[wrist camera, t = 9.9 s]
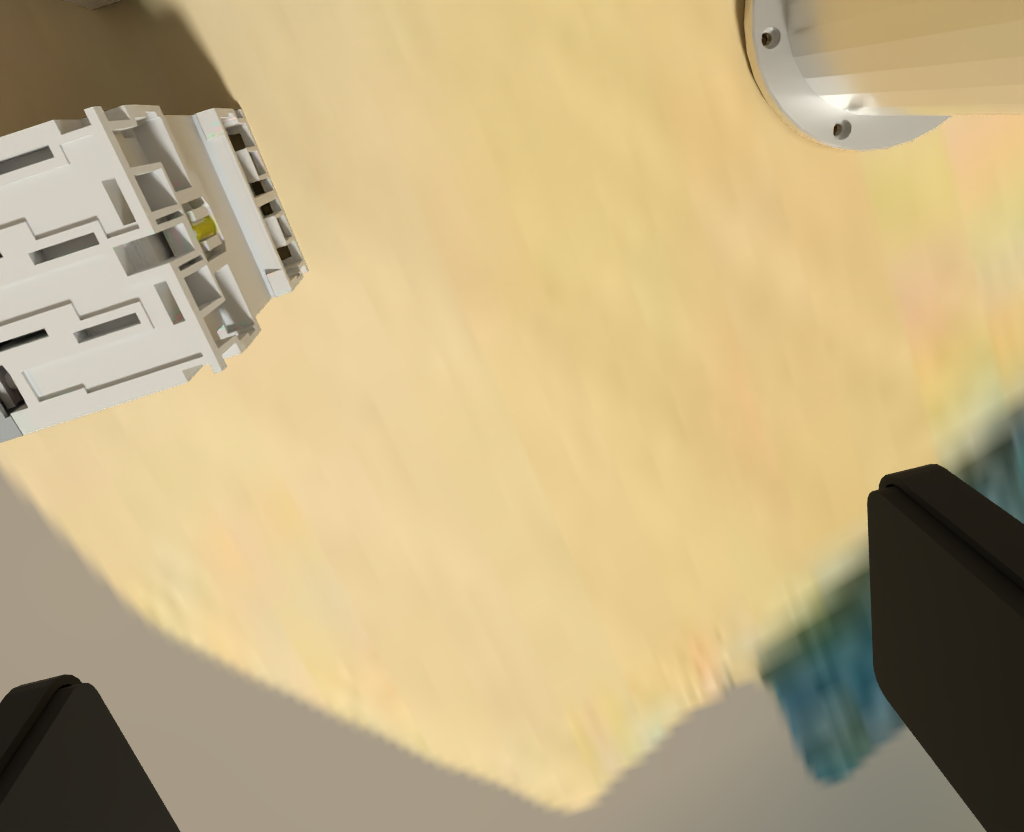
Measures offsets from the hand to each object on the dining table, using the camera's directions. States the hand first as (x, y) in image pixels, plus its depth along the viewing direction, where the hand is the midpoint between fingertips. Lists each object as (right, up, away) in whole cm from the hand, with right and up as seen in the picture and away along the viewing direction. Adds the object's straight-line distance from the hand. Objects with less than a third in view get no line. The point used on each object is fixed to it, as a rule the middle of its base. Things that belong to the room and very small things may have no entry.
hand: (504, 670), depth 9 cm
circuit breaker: (-18, +11, +26) cm, 33 cm away
